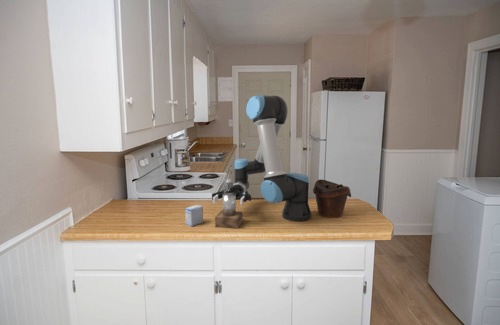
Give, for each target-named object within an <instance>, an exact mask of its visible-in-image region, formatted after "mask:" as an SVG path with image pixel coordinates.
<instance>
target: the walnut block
mask: <svg viewBox="0 0 500 325" xmlns="http://www.w3.org/2000/svg"><path fill="white" fill-rule="evenodd" d="M214 221H215V223H214V224H215V228H222V229H239V227H240V225H241V224H242V223H243V211H239V210H238V211H237V210H236V215H234V216H224V215H223V209H222V210H220V211H219V213H217V214H216V215H215V217H214Z"/></svg>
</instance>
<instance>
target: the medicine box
mask: <svg viewBox="0 0 500 325" xmlns="http://www.w3.org/2000/svg"><path fill="white" fill-rule="evenodd" d="M184 211H185V216H184V217H185V225H186V226H188V227H194V226H196V225H199V224H202V223H204V207H203V206H202V205H199V204H195V205H191V206H189V207H186V208H185V210H184Z"/></svg>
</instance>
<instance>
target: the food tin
mask: <svg viewBox="0 0 500 325" xmlns="http://www.w3.org/2000/svg"><path fill="white" fill-rule="evenodd" d="M222 196H223V198H222V210H223V215H224V216H234V215H236V211H237V210H236V208H237V204H236V203H237V202H236V200H237V199H236V194H234V193H224V194H222Z"/></svg>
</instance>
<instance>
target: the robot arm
mask: <svg viewBox="0 0 500 325" xmlns="http://www.w3.org/2000/svg"><path fill="white" fill-rule="evenodd" d="M245 110H246V111H245V112H246V116H247V117H248V118H249V119H250V120H252V122H253V125H254V126H256V127H257V134H258V138H259V143H260V144H259V147H258V148H257V151H256V155H255V157H254V159H253V160H248V159H247V158H236V159H235V160H234V183H233V184H232V185H231V187H229V190H225V189H222V190H221V191H217V192H214V193H211V199H212V203H213V204H215V203H216V202H218V201H219V200H220V199H223V196H222V194H224V193H234V194H236V200H239V199H240V201H239V203H240V206H242V205H244V203H246V202H248V201H249V202H251V201H252V195H251V194H250V193H249V192H248V190H249V188H250V182H249V176H250V175H257V174H264V176H263V181H262V182H261V186H260V192H261V195H262V197H263V199H264V201H265V200H266V202H268V203H270V204H279V203H282V202H285V203H284V206H283V209H282V211H281V216H282V218H283V219H285V220H288V221H292V222H304V221H308V220H310V219H312V212H311V209H310V204H309V188H310V186H309V184H310V180H309V176H308V175H307V174H304V173H298V172H297V173H296V172H286V171H284V169H283V165H282V164H283V163H282V159H281V154H280V148H279V147H280V146H279V144H278V136H279V133H280V131H281V129H282V126H283V125H284V124H285V123H286V120H287V118H288V105H287V102H286V100H284V98H283V97H281V96H279V95H262V94H260V95H253V96H251V97H250V98H249V100H248V102H247V104H246V109H245Z"/></svg>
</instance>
